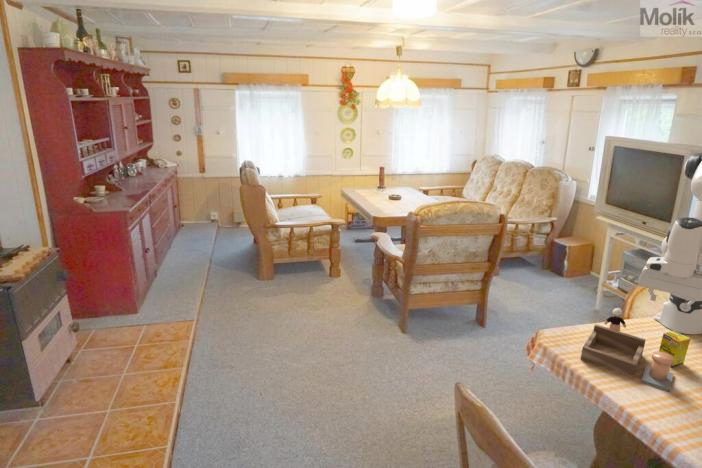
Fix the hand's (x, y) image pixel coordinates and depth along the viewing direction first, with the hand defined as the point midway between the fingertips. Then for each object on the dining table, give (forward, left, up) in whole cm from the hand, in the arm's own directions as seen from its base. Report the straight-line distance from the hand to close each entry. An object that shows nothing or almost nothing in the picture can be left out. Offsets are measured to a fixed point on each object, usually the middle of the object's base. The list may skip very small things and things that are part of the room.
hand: (669, 304), depth 153 cm
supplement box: (-9, +4, -26) cm, 28 cm away
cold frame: (+2, -13, -26) cm, 29 cm away
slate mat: (+6, +2, -26) cm, 26 cm away
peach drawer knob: (+6, +2, -25) cm, 25 cm away
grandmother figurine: (-14, -16, -26) cm, 33 cm away
